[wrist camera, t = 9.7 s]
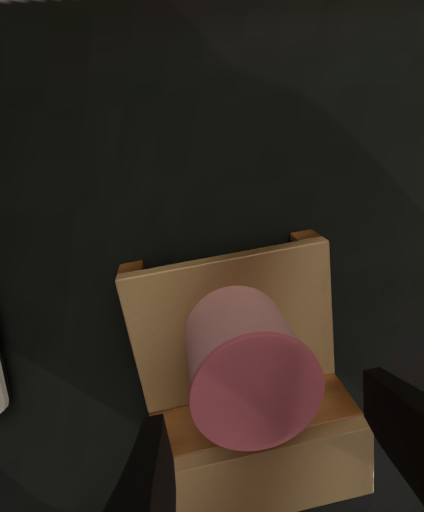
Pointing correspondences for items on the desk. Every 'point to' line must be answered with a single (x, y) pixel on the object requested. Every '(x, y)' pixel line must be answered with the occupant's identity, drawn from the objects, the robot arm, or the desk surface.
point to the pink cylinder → (249, 371)
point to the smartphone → (4, 385)
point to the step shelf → (178, 382)
